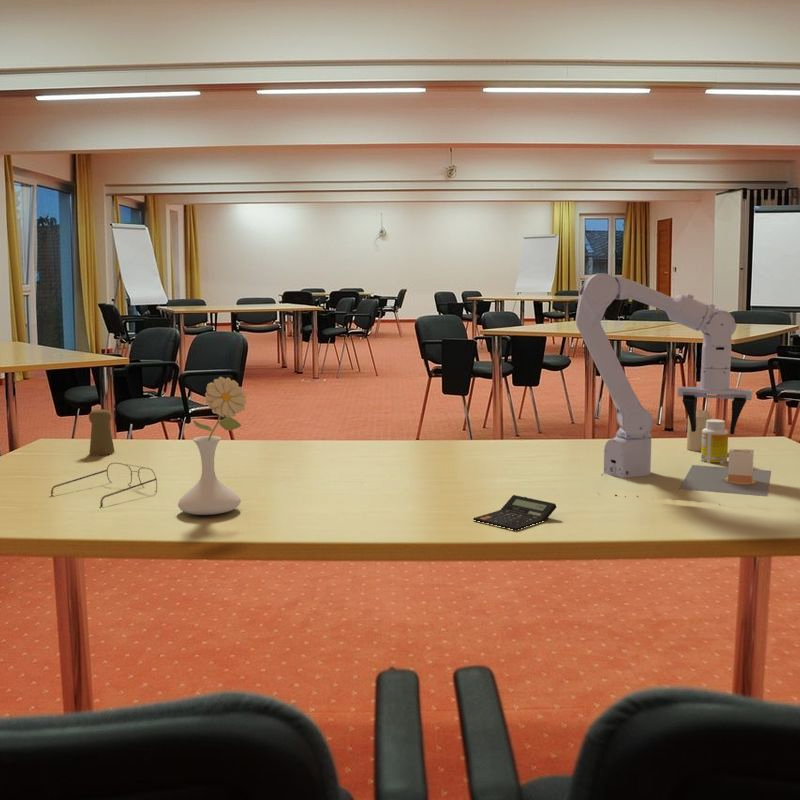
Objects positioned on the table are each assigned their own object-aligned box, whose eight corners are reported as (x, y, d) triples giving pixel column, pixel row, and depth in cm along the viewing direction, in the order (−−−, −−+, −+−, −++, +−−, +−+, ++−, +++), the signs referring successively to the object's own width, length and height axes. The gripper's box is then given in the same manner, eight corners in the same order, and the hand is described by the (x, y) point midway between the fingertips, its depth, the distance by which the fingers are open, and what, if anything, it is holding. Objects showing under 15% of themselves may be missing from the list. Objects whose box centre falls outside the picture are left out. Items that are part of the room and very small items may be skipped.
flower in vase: (179, 522, 155) (173, 382, 151) (177, 506, 166) (171, 375, 162) (253, 516, 158) (249, 379, 155) (246, 501, 169) (242, 372, 166)
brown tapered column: (89, 452, 220) (87, 408, 219) (115, 450, 222) (112, 407, 221) (88, 456, 215) (86, 412, 213) (114, 454, 217) (112, 410, 215)
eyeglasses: (162, 492, 179) (161, 468, 178) (101, 508, 167) (99, 483, 166) (112, 483, 188) (111, 460, 187) (50, 497, 176) (49, 473, 175)
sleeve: (751, 483, 175) (752, 453, 174) (727, 481, 176) (729, 452, 176) (752, 478, 179) (753, 449, 178) (729, 477, 180) (730, 448, 180)
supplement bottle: (731, 465, 197) (733, 420, 196) (718, 469, 194) (720, 423, 192) (709, 461, 202) (711, 417, 200) (695, 465, 198) (697, 420, 197)
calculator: (473, 522, 154) (473, 506, 154) (514, 510, 162) (514, 494, 162) (515, 533, 147) (515, 516, 147) (556, 519, 155) (556, 503, 155)
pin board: (767, 501, 165) (768, 475, 165) (678, 493, 172) (679, 468, 171) (770, 475, 187) (771, 452, 186) (692, 469, 194) (693, 447, 193)
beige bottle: (712, 448, 217) (714, 408, 215) (707, 452, 212) (708, 411, 211) (689, 446, 220) (691, 407, 218) (684, 450, 215) (685, 410, 214)
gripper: (754, 367, 182) (751, 431, 184) (682, 364, 188) (679, 427, 190) (752, 370, 176) (748, 437, 178) (677, 367, 182) (674, 432, 184)
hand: (712, 432), depth 184 cm, fingers open, 7 cm apart
